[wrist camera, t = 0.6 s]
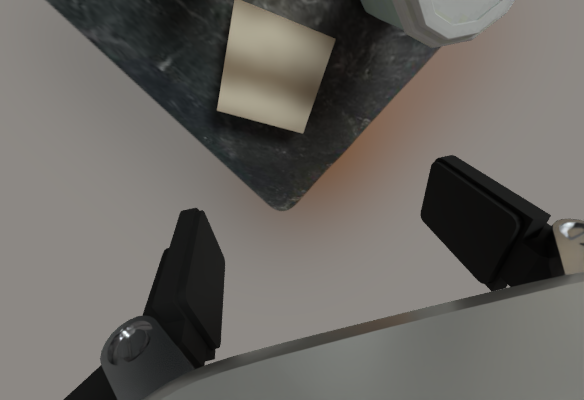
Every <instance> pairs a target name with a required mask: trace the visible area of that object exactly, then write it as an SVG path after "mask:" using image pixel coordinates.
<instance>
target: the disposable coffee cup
mask: <svg viewBox="0 0 584 400" xmlns="http://www.w3.org/2000/svg"><path fill="white" fill-rule="evenodd" d="M360 1H361V3H362V5H363V7H364V9H365V11H366V12H367V13H369V14H371V15H373V16H374V17H376V18H378V19H380V20H382V21H384V22H387V23H389V24H391V25H393V26H395V27H397V28H400V29H402V30H404V31H405V33H406V34H407V35H409V36H411V37H413V38H415V39H416V40H418V41H420V42H422V43H424V44H425V45H427V46H429V47H431V48H434V47H440V46H445V45H450V44H455V43H460V42H465V41H470V40H472V39H474V38H475V37H476V36H478V35H479V34H480V33H482V32H483V31H484V30H485V29H487V28H488V27H489V26H491V25H492V24H493V23H494V22H496V21H497V20H498V19H500V18H501V17H502V16H503V15H505V14H506V12H507V11H508V10H509V8H510V6H511V5H512V4H513V2H514V1H515V0H360Z"/></svg>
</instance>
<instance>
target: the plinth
mask: <svg viewBox="0 0 584 400" xmlns="http://www.w3.org/2000/svg"><path fill="white" fill-rule="evenodd" d="M335 40H336V39H335V38H332V37H330V36H327V35H325V34H322V33H320V32H318V31H315V30H313V29H310V28H308V27H305V26H303V25H300V24H298V23H295V22H293V21H291V20H288V19H286V18H283V17H281V16H278V15H276V14H273V13H271V12H269V11H266V10H264V9H261V8H259V7H256V6H254V5H251V4H249V3H246V2H244V1H242V0H234V6H233V12H232V19H231V25H230V31H229V37H228V44H227V50H226V56H225V63H224V69H223V75H222V82H221V88H220V94H219V100H218V107H217V111H220V112H224V113H228V114H231V115H235V116H239V117H243V118H246V119H250V120H254V121H258V122H261V123H265V124H269V125H273V126H276V127H280V128H284V129H288V130H291V131H295V132H299V133H303V132H304V129H305V126H306V124H307V121H308V118H309V115H310V112H311V109H312V106H313V103H314V100H315V98H316V95H317V92H318V89H319V86H320V83H321V80H322V77H323V75H324V72H325V69H326V66H327V63H328V60H329V57H330V54H331V51H332V49H333V46H334V43H335Z"/></svg>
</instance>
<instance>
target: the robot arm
mask: <svg viewBox="0 0 584 400" xmlns="http://www.w3.org/2000/svg"><path fill="white" fill-rule="evenodd" d="M550 216H551V215H550V214H548V213H546V212H545V211H543V210H541V209H540V208H538V207H537V206H535V205H533V204H532V203H530V202H528V201H527V200H525V199H524V198H522V197H520V196H519V195H517V194H515V193H514V192H512V191H511V190H509V189H508V188H506V187H504V186H503V185H501V184H499V183H498V182H496V181H494V180H493V179H491V178H490V177H488V176H486V175H485V174H483V173H482V172H480V171H478V170H477V169H475V168H474V167H472V166H470V165H469V164H467V163H465V162H464V161H462V160H461V159H459V158H457V157H456V156H453V155H450V156H445V157H441V158H438V159H436V160H435V162H434V163H433V164H432V165H431V169H430V174H429V178H428V183H427V187H426V191H425V196H424V201H423V205H422V210H421V218H422V220H423V222H424V223H425V224H426V225H427V226H428V227H429V228H430V229H431V230H432V231H433V232H434V234H436V236H437V237H438V238H439V239H440V240H441V241H442V242H443V243H444V244H445V245H446V246H447V248H448V249H449V250H450V251H451V252H452V253H453V254H454V255H455V256H456V257H457V258H458V259H459V261H460V262H461V263H462V264H463V265H464V266H465V267H466V268H467V269H468V270H469V271H470V272H471V273H472V274H473V276H474V277H475V278H476V279H477V280H478V281H479V282H481V283H483V284H485V285H486V286H487V287H488V288H489V289H490V290H491V291H493V292H489V293H484V294H480V295H476V296H472V297H468V298H464V299H459V300H455V301H451V302H447V303H443V304H439V305H435V306H430V307H426V308H422V309H418V310H414V311H410V312H406V313H402V314H398V315H394V316H389V317H386V318H381V319H377V320H373V321H369V322H365V323H361V324H357V325H353V326H349V327H345V328H341V329H337V330H333V331H329V332H326V333H321V334H317V335H313V336H309V337H305V338H301V339H297V340H293V341H289V342H285V343H281V344H278V345H274V346H270V347H266V348H262V349H259V350H255V351H252V352H248V353H244V354H241V355H237V356H233V357H230V358H227V359H223V360H220V361H217V362H214V363H211V364H208V365H205V366H204V363H205V361H209V360H213V359H215V349H216V348H219V347H220V343H221V326H222V309H223V292H224V275H225V273H224V272H225V260H224V256H223V254H222V252H221V249H220V247H219V245H218V242H217V240H216V238H215V236H214V233H213V231H212V229H211V226H210V224H209V222H208V219H207V217H206V215H205V213H204V211H203V210H202V211H199V210H198V209H197V208H193V209H188V210H183V211H181V213H180V215H179V218H178V222H177V225H176V228H175V231H174V235H173V238H172V241H171V244H170V247H169V248H167V249H166V250H164V253H163V255H162V258H161V261H160V264H159V267H158V270H157V273H156V276H155V280H154V282H153V285H152V289H151V291H150V294H149V298H148V301H147V304H146V307H145V310H144V313H143V316H138V317H135V318H133V319H130V320H129V321H127V322H125V323H124V324H122V325H121V326H120V327H118V328H117V329H116V330H115V331H114V332H113V333H112V334H111V336H110V337H109V338H108V340H107V341H106V343H105V345H104V347H103V349H102V352H101V358H100V360H101V366H100V367H99V368H98V369H96V371H94V372H93V373H92V374H91V375H90V376H89V377H88V378H87V379H86V380H84V381H83V382H82V384H80V385H79V386H78V387H77V388H76V389H75V390H74V391H72V392H71V393H70V394H69V395H68V396H67V397H66V398H65V399H64V400H584V221H582V220H576V219H561V220H558V221H556V222H555V223H554V224H553V225H552V226H550V225H549V224H547V221H548V220H549V217H550ZM507 284H508V285H509V286H510V288H506V286H507ZM504 288H505V289H504ZM500 289H501V290H500ZM496 290H497V291H496Z"/></svg>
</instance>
